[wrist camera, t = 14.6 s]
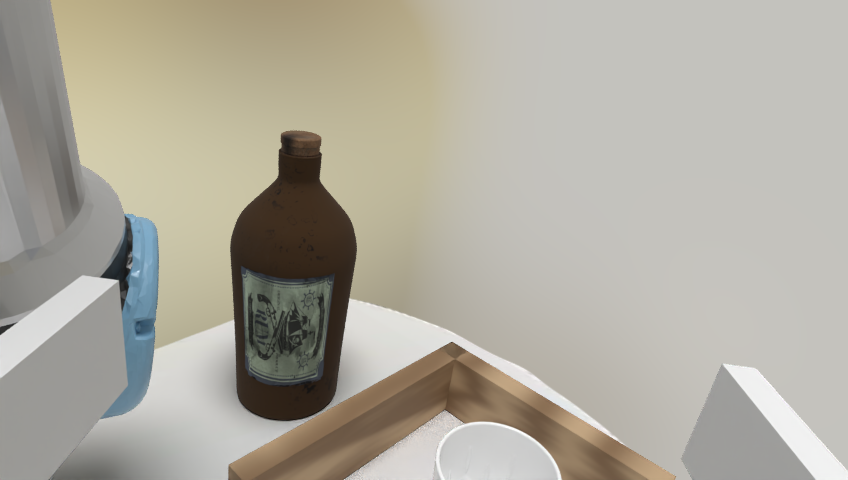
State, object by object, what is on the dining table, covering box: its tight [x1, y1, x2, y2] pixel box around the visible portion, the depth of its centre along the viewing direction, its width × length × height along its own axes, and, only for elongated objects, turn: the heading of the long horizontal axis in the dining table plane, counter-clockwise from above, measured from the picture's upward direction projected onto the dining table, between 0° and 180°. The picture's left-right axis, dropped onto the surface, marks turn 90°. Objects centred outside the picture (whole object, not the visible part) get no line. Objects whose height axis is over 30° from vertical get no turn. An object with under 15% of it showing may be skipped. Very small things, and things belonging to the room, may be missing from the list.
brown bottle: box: [230, 131, 357, 420], centre depth 48 cm, size 11×11×25 cm
